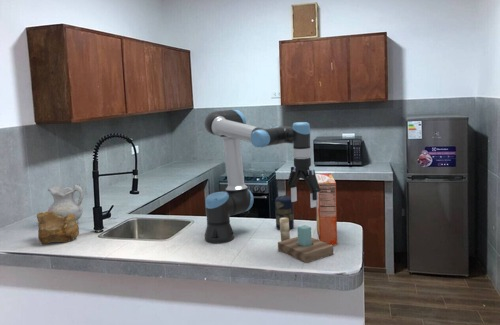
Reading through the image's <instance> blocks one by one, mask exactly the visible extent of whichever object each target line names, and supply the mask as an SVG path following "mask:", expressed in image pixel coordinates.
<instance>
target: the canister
mask: <svg viewBox="0 0 500 325" xmlns="http://www.w3.org/2000/svg"><path fill="white" fill-rule="evenodd" d="M274 203H275V204H274V206H275V226H276V228H277V229H279V230H280V218H289V230H290V229H292V228H294V226H295V225H294V224H295V221H294V220H295V219H294V218H295V217H294V202H291V195H287V194H286V195H279V196H277V197H275V201H274Z"/></svg>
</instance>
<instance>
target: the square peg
mask: <svg viewBox="0 0 500 325" xmlns="http://www.w3.org/2000/svg"><path fill="white" fill-rule="evenodd" d="M297 237H298V245H300V246H302V247H306V246H310V245H312V239H311V238H312V227H311V226H308V225H306V224H305V225H300V226H297Z"/></svg>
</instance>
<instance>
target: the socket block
mask: <svg viewBox="0 0 500 325" xmlns="http://www.w3.org/2000/svg"><path fill="white" fill-rule="evenodd" d="M311 239H312V245H310V246H306V247H302V246H300V245H298V236H296V237H295V236H294V237H292V238H291V237H290V239H288V240H284V241H281V240H280V241H278V242H277V251H279V252H280V253H283V254H285V255H287V256H290V257H292V258H294V259H295V260H298V261H300V262H302V263H304V264H307V263H310V262H313V261H317V260H319V259H323V258H325V257H328V256H329V257H330V256H333V255H334V245H330V244H327V243H325V242H322V241H319V239H316V238H315V237H311Z"/></svg>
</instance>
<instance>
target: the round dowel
mask: <svg viewBox="0 0 500 325" xmlns="http://www.w3.org/2000/svg"><path fill="white" fill-rule="evenodd" d="M279 230H280V241H284V240H288V239H291V233H290V229H289V218H280V229H279Z"/></svg>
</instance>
